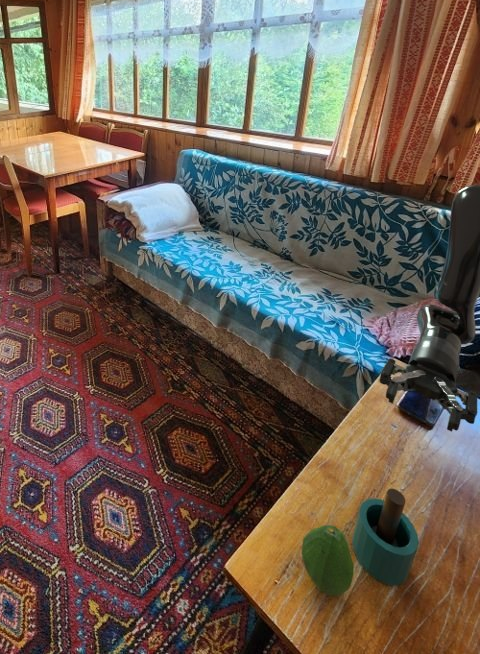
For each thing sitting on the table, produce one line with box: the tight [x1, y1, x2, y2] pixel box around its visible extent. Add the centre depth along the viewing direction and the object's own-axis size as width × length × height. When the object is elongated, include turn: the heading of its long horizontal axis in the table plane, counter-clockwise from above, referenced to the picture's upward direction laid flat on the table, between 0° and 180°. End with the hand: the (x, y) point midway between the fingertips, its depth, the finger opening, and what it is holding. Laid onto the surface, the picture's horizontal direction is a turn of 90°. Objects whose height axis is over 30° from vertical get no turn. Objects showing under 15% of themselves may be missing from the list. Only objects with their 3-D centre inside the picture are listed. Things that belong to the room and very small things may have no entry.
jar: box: [352, 497, 420, 587], centre depth 67 cm, size 9×9×9 cm
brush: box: [371, 487, 406, 547], centre depth 65 cm, size 4×4×16 cm
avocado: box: [301, 524, 355, 597], centre depth 64 cm, size 8×8×12 cm
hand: (419, 412), depth 67 cm, fingers open, 8 cm apart
